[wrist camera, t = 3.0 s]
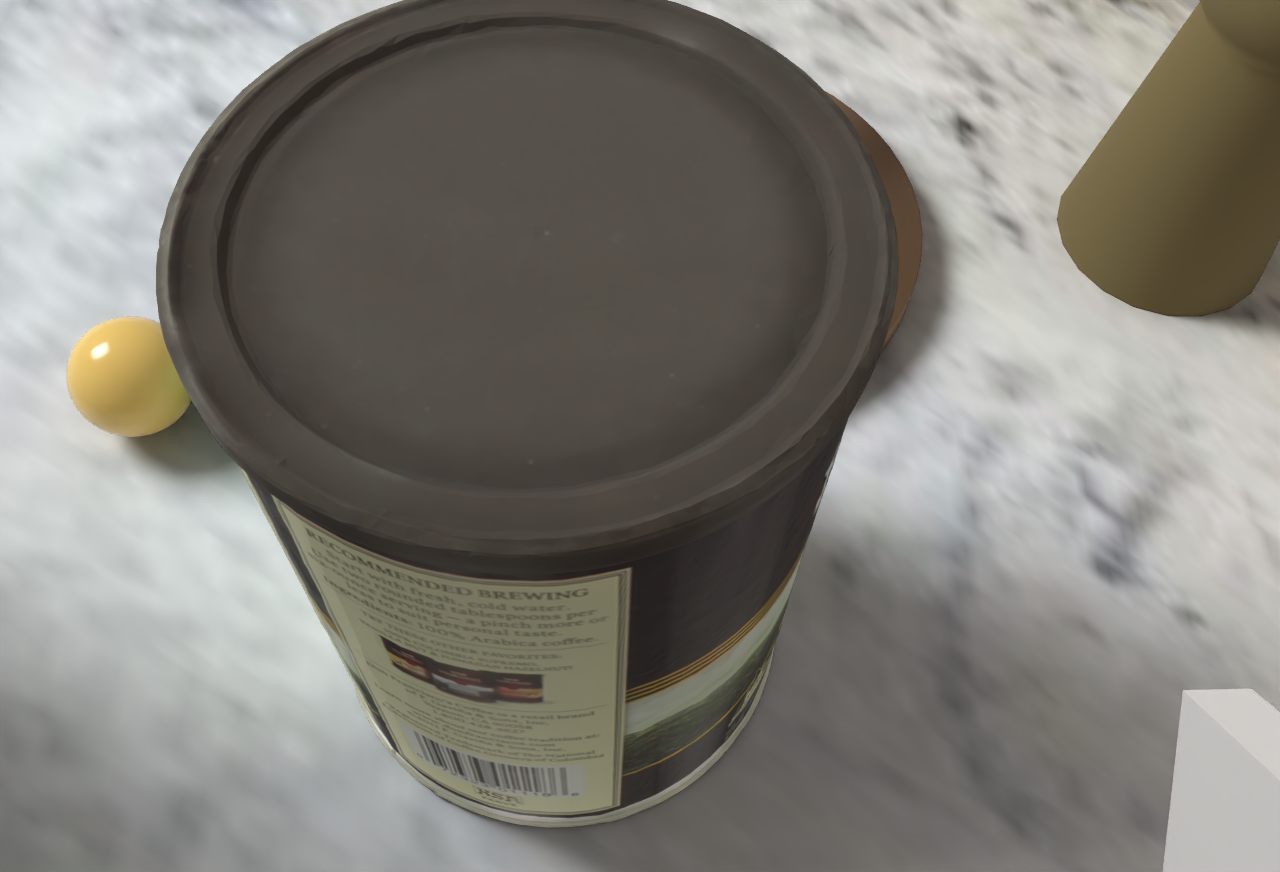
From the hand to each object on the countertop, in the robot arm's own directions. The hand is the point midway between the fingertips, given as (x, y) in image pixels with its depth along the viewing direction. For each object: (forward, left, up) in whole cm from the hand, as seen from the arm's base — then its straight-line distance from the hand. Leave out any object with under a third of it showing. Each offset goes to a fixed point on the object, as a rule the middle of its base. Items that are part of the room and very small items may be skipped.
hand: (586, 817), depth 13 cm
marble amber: (-18, -3, -14) cm, 23 cm away
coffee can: (-7, +4, -14) cm, 16 cm away
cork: (-8, +25, -14) cm, 29 cm away
